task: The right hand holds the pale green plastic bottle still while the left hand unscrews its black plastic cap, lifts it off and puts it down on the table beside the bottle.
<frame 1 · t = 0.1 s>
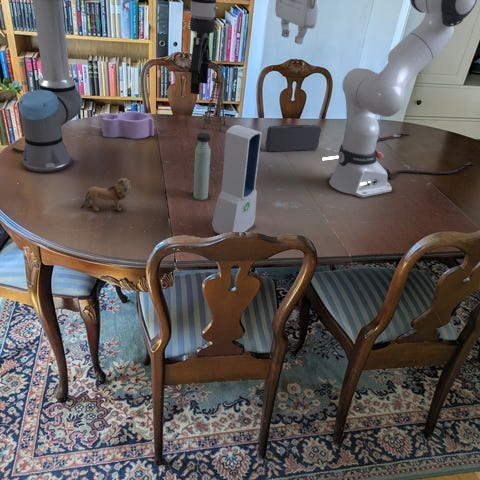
left hand: (199, 88, 153), 28 cm above the table, tool pointing down, fingers open, 13 cm apart
right hand: (291, 40, 132), 48 cm above the table, tool pointing down, fingers open, 8 cm apart
sword: (389, 139, 213), on the table
cap: (203, 136, 139), point 20 cm above the table, screwed on, not yet turned
clip: (128, 133, 190), on the table
bottle: (200, 196, 150), on the table
electronic device: (233, 229, 135), on the table
lion figurine: (108, 207, 139), on the table
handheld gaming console: (291, 150, 191), on the table
eiffel tower model: (214, 127, 206), on the table
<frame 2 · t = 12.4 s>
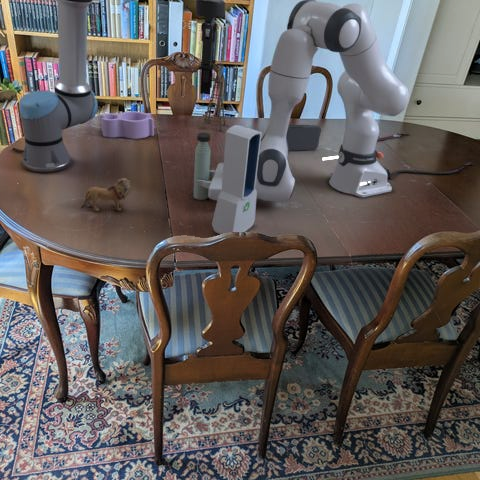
left hand: (206, 90, 132), 34 cm above the table, tool pointing down, fingers open, 6 cm apart
right hand: (198, 177, 147), 7 cm above the table, tool horizontal, fingers closed on bottle, 5 cm apart
bottle: (200, 196, 150), on the table, touching right hand
everything else where it was.
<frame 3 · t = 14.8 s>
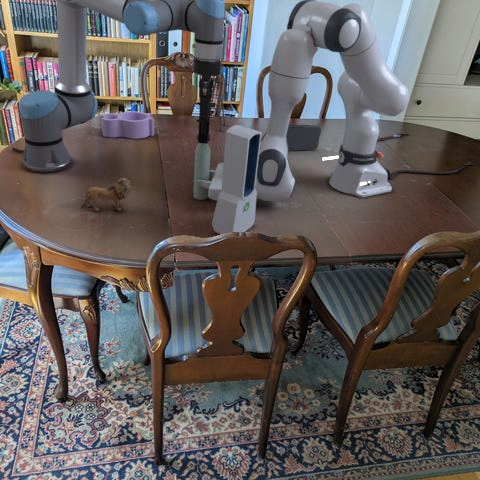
left hand: (203, 140, 140), 19 cm above the table, tool pointing down, fingers closed on cap, 4 cm apart
right hand: (198, 177, 147), 7 cm above the table, tool horizontal, fingers closed on bottle, 5 cm apart
cap: (203, 136, 139), point 20 cm above the table, screwed on, not yet turned, touching left hand
bottle: (200, 196, 150), on the table, touching right hand
everything else where it was.
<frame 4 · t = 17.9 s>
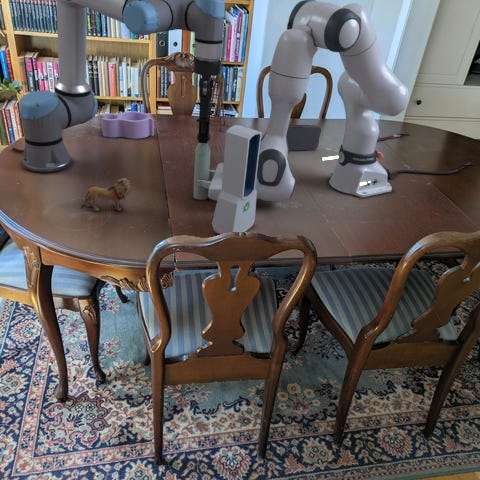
left hand: (203, 139, 140), 19 cm above the table, tool pointing down, fingers closed on cap, 4 cm apart
right hand: (198, 177, 147), 7 cm above the table, tool horizontal, fingers closed on bottle, 5 cm apart
cap: (203, 135, 139), point 20 cm above the table, turned 88° so far, risen 0.1 cm, still on its thread, touching left hand
bottle: (200, 196, 150), on the table, touching right hand
everything else where it was.
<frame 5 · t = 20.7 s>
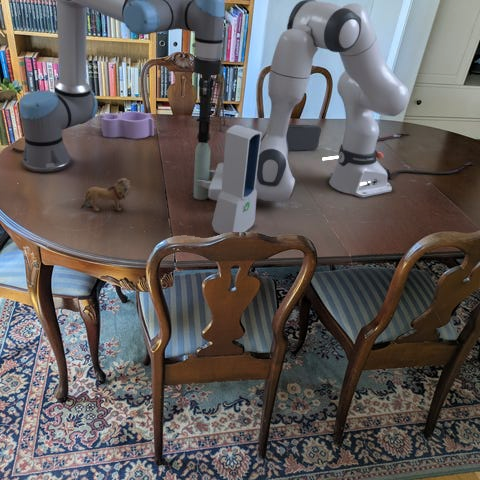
left hand: (203, 139, 140), 19 cm above the table, tool pointing down, fingers closed on cap, 4 cm apart
right hand: (198, 177, 147), 7 cm above the table, tool horizontal, fingers closed on bottle, 5 cm apart
cap: (203, 135, 139), point 21 cm above the table, turned 177° so far, risen 0.2 cm, still on its thread, touching left hand
bottle: (200, 196, 150), on the table, touching right hand
everything else where it was.
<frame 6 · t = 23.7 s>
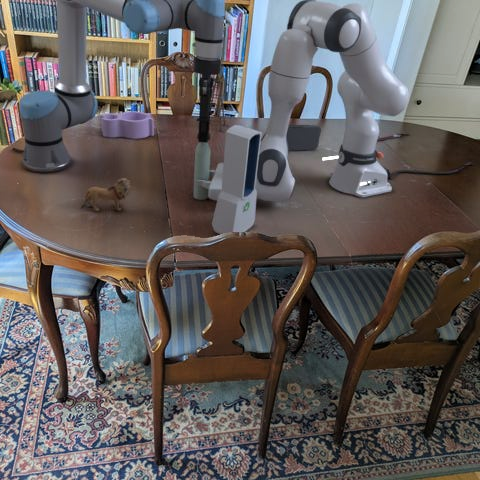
left hand: (203, 139, 140), 19 cm above the table, tool pointing down, fingers closed on cap, 4 cm apart
right hand: (198, 177, 147), 7 cm above the table, tool horizontal, fingers closed on bottle, 5 cm apart
cap: (203, 134, 139), point 21 cm above the table, turned 265° so far, risen 0.3 cm, still on its thread, touching left hand
bottle: (200, 196, 150), on the table, touching right hand
everything else where it was.
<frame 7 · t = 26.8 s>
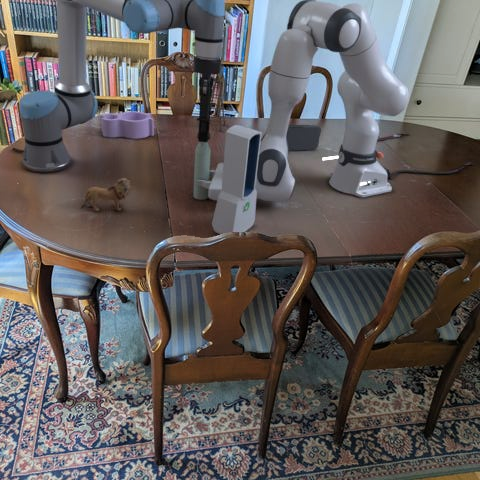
left hand: (203, 138, 140), 19 cm above the table, tool pointing down, fingers closed on cap, 4 cm apart
right hand: (198, 177, 147), 7 cm above the table, tool horizontal, fingers closed on bottle, 5 cm apart
cap: (203, 134, 139), point 21 cm above the table, turned 354° so far, risen 0.4 cm, still on its thread, touching left hand
bottle: (200, 196, 150), on the table, touching right hand
everything else where it was.
when the left hand's fingers open (1 cm above the table, at t = 33.2 s): cap stays where it is, point 1 cm above the table.
when the right hand's fingers open (7 cm above the table, at t = 34.5 s): bottle stays where it is, on the table.
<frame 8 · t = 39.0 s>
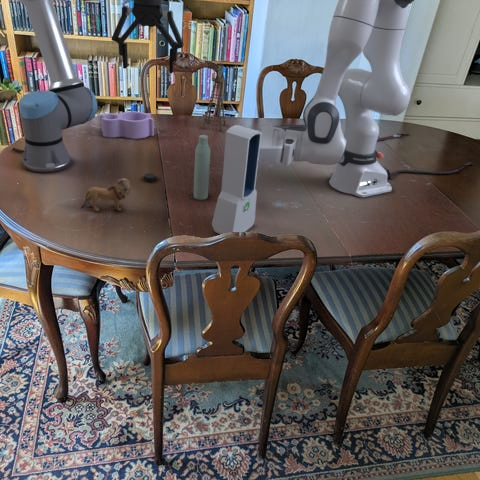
left hand: (148, 70, 138), 36 cm above the table, tool pointing down, fingers open, 13 cm apart
right hand: (243, 139, 138), 21 cm above the table, tool horizontal, fingers open, 8 cm apart
cap: (149, 176, 156), point 1 cm above the table, off its thread
bottle: (200, 196, 150), on the table
everything else where it was.
at the end: cap came off its thread; cap point 1.2 cm above the table; the left hand is holding nothing; the right hand is holding nothing; bottle tilted 0°; bottle moved 0.0 cm from its start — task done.
